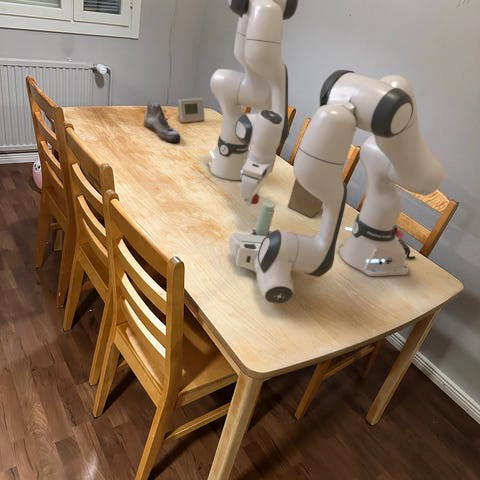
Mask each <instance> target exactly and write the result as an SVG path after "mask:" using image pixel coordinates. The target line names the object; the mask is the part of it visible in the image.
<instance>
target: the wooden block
mask: <svg viewBox="0 0 480 480" xmlns="http://www.w3.org/2000/svg"><path fill="white" fill-rule="evenodd" d="M323 206H324V204H323V202H322V201H321V200H319V199H318V198H317V197H315V196H314V195H312V194H311V193H309V192H308V191H307V190H306V189H305V188H303V187H302V185H301V184H300V183H299V182H298V180H297V179H296V178H295V179H294V183H293V186H292V189H291V193H290V196H289V199H288V203H287V208H290V209H291V210H294V211H296V212H298V213H301V214H302V215H305V216H307V217H309V218H312V217H313V216H314V215H316V214H317V213H318V212H319V211H321V209H322V207H323Z"/></svg>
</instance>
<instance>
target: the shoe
mask: <svg viewBox="0 0 480 480" xmlns="http://www.w3.org/2000/svg"><path fill="white" fill-rule="evenodd" d="M164 112H165V113H166V112H167V110H166V109H163V108H162V107H161V104H160V103H155V101H153V103H150V101H147V106H146V109H145V112H144V116H143V124H144V125H143V126H144V127H146V128H149V130H152V131H154V132H155V133H156V134H157V136H158V138H159V139H160V140H162V141H166V142H168V143H172V144H173V143H174V144H178V143H180V142H181V134H180V133H179V132H178V131H177V130H176V129H175V128H173V127H172V126H170V125H169V122H168V118H167V117H166V116H165V113H164Z"/></svg>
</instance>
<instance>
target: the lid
mask: <svg viewBox="0 0 480 480" xmlns="http://www.w3.org/2000/svg"><path fill="white" fill-rule="evenodd" d="M243 200H244V201H245V202H246V199H243ZM252 200H253V201H252V204H251V205H257V204H259V201H260V195H259V194H258V195H257V194H255V195H254V197H253V198H252Z"/></svg>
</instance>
